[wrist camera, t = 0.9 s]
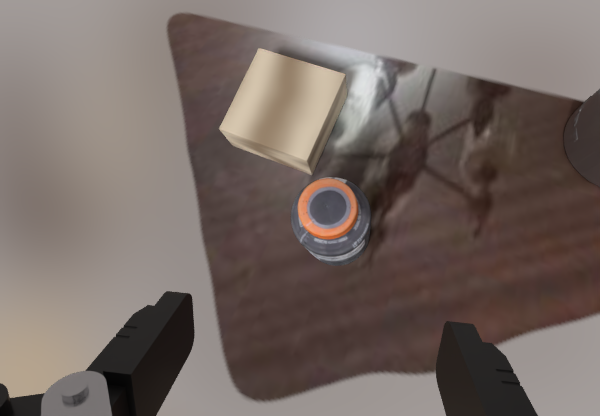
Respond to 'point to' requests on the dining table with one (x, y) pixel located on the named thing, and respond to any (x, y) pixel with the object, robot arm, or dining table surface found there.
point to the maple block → (285, 110)
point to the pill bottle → (332, 220)
